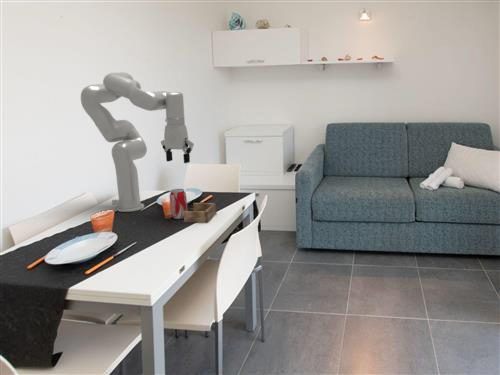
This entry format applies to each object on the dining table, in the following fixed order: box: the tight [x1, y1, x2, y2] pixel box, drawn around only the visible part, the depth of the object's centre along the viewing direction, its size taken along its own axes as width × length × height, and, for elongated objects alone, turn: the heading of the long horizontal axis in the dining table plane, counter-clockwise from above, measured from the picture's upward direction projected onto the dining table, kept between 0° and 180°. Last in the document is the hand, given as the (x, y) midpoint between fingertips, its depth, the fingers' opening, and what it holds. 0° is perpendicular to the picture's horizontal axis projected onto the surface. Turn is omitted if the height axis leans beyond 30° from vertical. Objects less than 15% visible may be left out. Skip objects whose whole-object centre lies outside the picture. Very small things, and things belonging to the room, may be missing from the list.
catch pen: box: [183, 202, 217, 224], centre depth 216 cm, size 10×14×4 cm
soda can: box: [169, 188, 188, 220], centre depth 217 cm, size 7×7×12 cm
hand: (178, 161), depth 217 cm, fingers open, 9 cm apart
